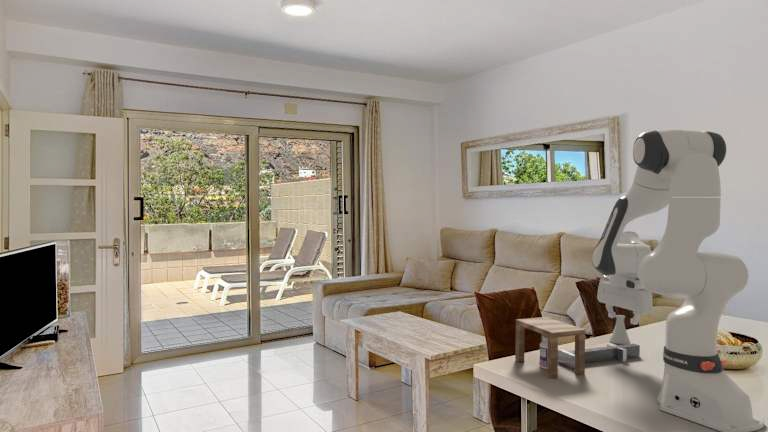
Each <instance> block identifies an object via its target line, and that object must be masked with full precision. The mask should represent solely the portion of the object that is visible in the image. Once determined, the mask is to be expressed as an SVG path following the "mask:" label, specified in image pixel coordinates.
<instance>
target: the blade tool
mask: <svg viewBox="0 0 768 432" xmlns="http://www.w3.org/2000/svg"><path fill="white" fill-rule="evenodd" d="M640 348H641V347H640V345H639V344H636V343H630V344H624V345H623V344H617V345H616V344H615V345H614V344H611V343H607V344H606V346H603V347H602V346H601V347H593V348H585V365H589V364H588V363H590V364H595V363H596V362H598V363H604V362H605V361H606V362H610V361H611V362H612V361H613V360H614V361H619V362H621V363H622V362H623V363H625V362H626V363H627V360H629V359H636V358H640V357H641V356H640V353H641V352H640V350H641V349H640ZM558 363H560V364H562V365H564V366H566V365H567V366H566V367H569V368H571V369H573V370H575V349H574V350H566V349H565V350H564V349H562V348H558Z"/></svg>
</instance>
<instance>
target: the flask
mask: <svg viewBox="0 0 768 432" xmlns="http://www.w3.org/2000/svg"><path fill="white" fill-rule="evenodd" d="M615 318H616V321H615V326H614V328H613V331H612V333H611V336H610V338H609V342H610V343H613V344H615V345H616V344H617V345H626V344H631V339H630V338H629V334H628V332H627V329H626V325H625V319H626V316H625V315H622V314H616V315H615Z"/></svg>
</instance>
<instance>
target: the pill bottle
mask: <svg viewBox="0 0 768 432" xmlns="http://www.w3.org/2000/svg"><path fill="white" fill-rule="evenodd" d="M542 341H543V342H541V341H540V343H539V367H540V368H542V369H544V370H547V356H548V336H546V335H543V336H542ZM558 364H559V362H557V369H558V367H559V365H558Z"/></svg>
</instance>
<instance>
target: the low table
mask: <svg viewBox="0 0 768 432" xmlns="http://www.w3.org/2000/svg"><path fill="white" fill-rule="evenodd" d="M526 329H528V330H530V331H533V332H536V333H538V334H540V343H541V342H543V341H542V336H543V335H546V336H548V356H547V369H546V372H547V373H546V375H547V376H546V377H547V378H550V379H553V380H554V379H557V378H558V368H557V362H558V349H559V344H558V343H559V342H558V341H559V338H565V337H573V336H574V350H575V369H574V373H575V374H577V375H579V376H581V375H585V373H586V372H585V367H586V364H585V349H586V329H585V328H582V327H579V326H575V325H572V324H570V323H566V322H563V321H561V320H557V319H554V318H551V317H548V316H542V317H539V316H538V317H531V318H530V317H529V318H518V319H515V360H514V361H515V362H518V363H525V344H526V343H525V332H526ZM558 363H559V362H558Z"/></svg>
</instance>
